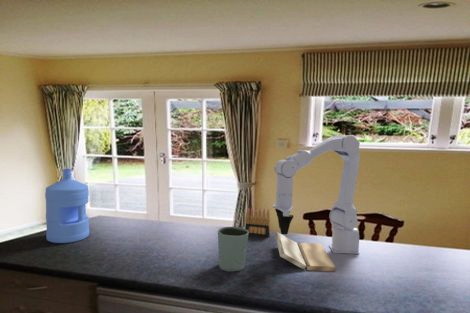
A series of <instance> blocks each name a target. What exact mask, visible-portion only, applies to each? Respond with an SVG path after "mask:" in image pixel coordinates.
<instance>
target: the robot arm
mask: <svg viewBox="0 0 470 313" xmlns="http://www.w3.org/2000/svg"><path fill="white" fill-rule="evenodd" d="M330 151H333V152H334V153H336V154H338V155H339V156H340V158H341V159H342V160H343V165H342V172H341V178H340V183H339V192H338V198H337V201H336V202H335V203H333V204H332V209H331V210H330V212H329V216H328V217H329V220H330V222H331V223H332V224H331V225H332V234H331V237H332V238H331V244H328V247H329V248H330V250H331V251H332V253H334V254H351V255H352V254H353V255H354V254H355V255H356V254H357V255H359V254H360V252H359V248H360V247H359V246H360V231H359V229H358V228H357V227H356V226H357V225H358V216H357V212H358V211H357V208H356V207H355V205H354V199H355V198H354V197H355V191H356V185H357V179H358V173H359V168H360V163H361V162H360V161H361V155H360V154H361V153H360V141H359V140H358V139H357V137H356V136H354V135H352V134H351V135H350V134H349V135H345V134H344V135H341V134H334V135H332V136H330V137H328V138H326V139H325V140H324V141H322V142H320V143H318V144H317V145H315V146H313V147H311V148H310V149H308V150H306V149H298V150H297V152H296V153H294V154H292V155H287V156H286V159H279V160H278V161H277V162H276V164H275V165H274V167H273V170H274V172H275V173H276V197H275V200H276V201H275V204H272V208H274V210H275V212H276V217H277V222H278V228H279V229H280V234H282V235H288V233H289V229H290V225H291V223H292V221H293V219H294V216H295V215H294V214H290V213H291V211H292V210H293V208H294V206H293V198H294V197H293V196H294V195H293V194H294V193H293V192H294V176H295V175H296V174H297V172H298V171H300V170H302V169H303V168H306V167H308V166H309V165H311V164H312V163H313V159H315V158H317V157H319V156H321V155H324V154H325V153H328V152H330Z"/></svg>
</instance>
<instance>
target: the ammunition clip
mask: <svg viewBox="0 0 470 313" xmlns="http://www.w3.org/2000/svg"><path fill="white" fill-rule="evenodd" d="M245 215H246V216H245V228H244V229H246V230H248V232H249V234H248V236H255V237H260V238H261V237H263V238H270V237H271V230H270V229H271V224H270V222H271V220H270V219H271V218H270V216H271V215H270V209H269V208H268V209H267V211H266V209H265V208H263V211H262V209H261V208H259V210H258V208H255V210H254V208H253V207H251V208H249V207H247V208H246V214H245Z"/></svg>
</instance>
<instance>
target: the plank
mask: <svg viewBox="0 0 470 313" xmlns="http://www.w3.org/2000/svg"><path fill="white" fill-rule="evenodd" d="M274 236H275V241H276V244H277V249H278V252H279V257H281V258H282V259H283V260H286V261H288V262H289V263H292V264H293V265H295V266H296V267H298V268H300V269H303V270H306V264H305V261H304V259H303V257H302V254H301V252H300V249H299V247H298V242H296V241H294V240H293V239H291V238H289V237H287V236H286V235H285V234H281V232H278V231H276V233H275V235H274Z"/></svg>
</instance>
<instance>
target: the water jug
mask: <svg viewBox="0 0 470 313" xmlns="http://www.w3.org/2000/svg"><path fill="white" fill-rule="evenodd" d="M72 173H73V172H72V168H63V169H62V179H61V180H59V181H56V182H55V183H52V184H51V185H48V186H46V187H45V191H44V192H45V193H44V194H45V197H44V198H45V221H46V233H45V234H46V241H48V242H50V243H53V244H69V243H76V242H79V241H81V240H85V239H86V238H88V237H89V235H90V222H89V221H90V219H89V217H87V214H86V211H87V210H86V205H87V204H88V203H89V195H90V193H89V192H90V191H89V190H90V189H89V186H88V184H85V183H83V182H81V181H78V180H75V179H73V178H72V175H73V174H72Z"/></svg>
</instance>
